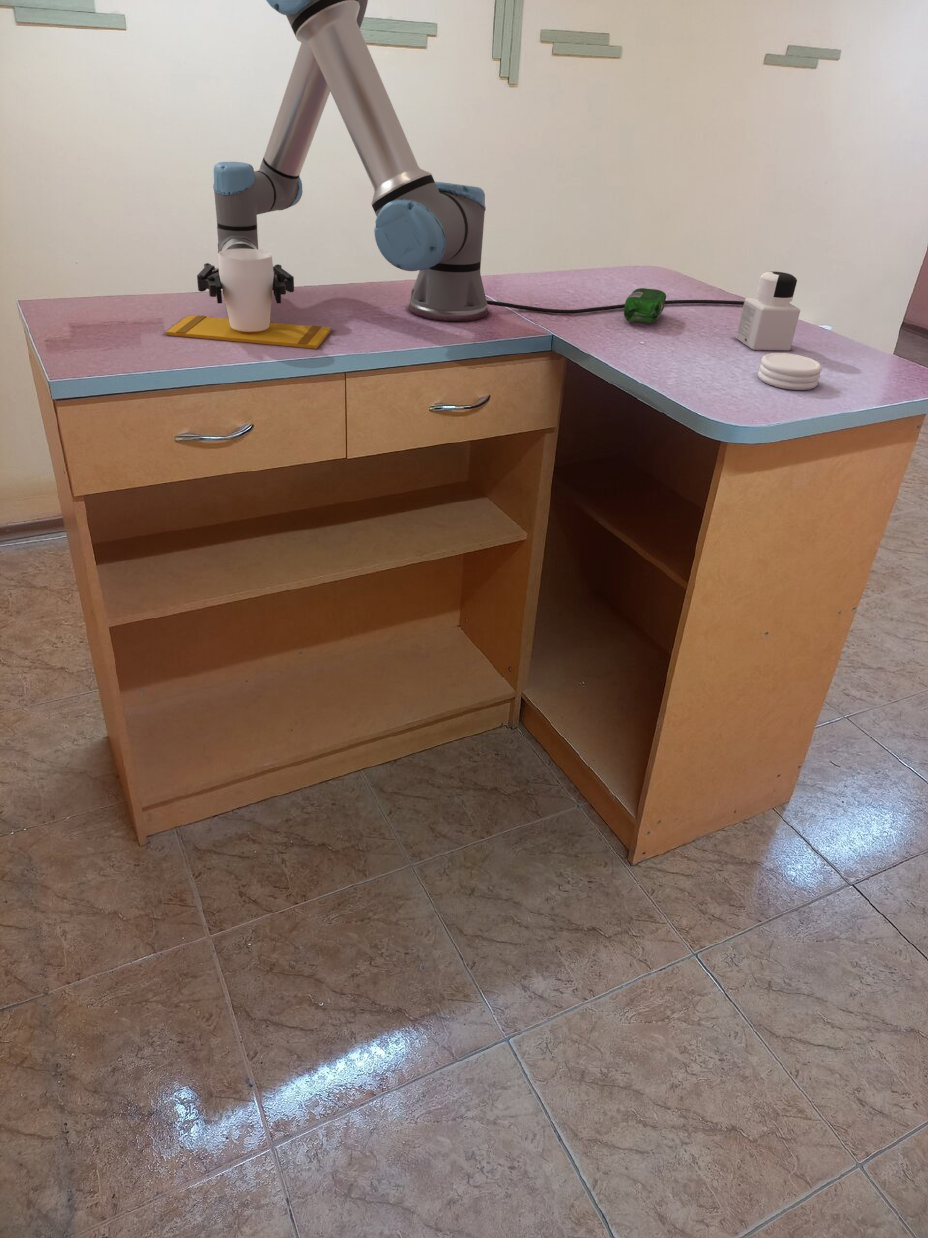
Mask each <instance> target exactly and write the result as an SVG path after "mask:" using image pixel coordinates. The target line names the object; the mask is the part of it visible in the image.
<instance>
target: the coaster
mask: <svg viewBox="0 0 928 1238" xmlns="http://www.w3.org/2000/svg"><path fill="white" fill-rule="evenodd" d="M822 371H823V366H822V364H821V363H820V362H818V361H817V360H815V359H813V358H810V357H808V356H804V355H800V354H795V353H788V352H787V353H786V352H772V353H771V352H770V353H767V354H765V355H763V356H762V358H761V360H760V364H759V370H758V372H757V377H758V378H759V380H760V381H761V382H763V383H765V384H767V385H770V386H772V387H776V388H778V389H779V388H780V389H785V390H790V391H791V390H792V391H809V390H812V389H814V388H816V387H817V386H818V384H819V379H820V378H821V372H822Z"/></svg>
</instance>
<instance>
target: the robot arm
mask: <svg viewBox="0 0 928 1238" xmlns="http://www.w3.org/2000/svg"><path fill="white" fill-rule="evenodd" d="M265 1H266V3H267V4H268V5H269V6H270V7H271V8H272V9H273V10H274V11H276V12H277V13H279V14H281V15H283V16H286V18H287V21H288V23H289V25H290V28H291V29H292V32H293V34H294V36H295V38H296V40H297V41H298V42H300V46H299V48H298V52H297V54H296V58H295V61H294V63H293V67H292V70H291V73H290V76H289V78H288V82H287V84H286V87H285V91H284V94H283V97H282V100H281V103H280V105H279V108H278V112H277V115H276V117H275V118H276V119H275V122H274V125H273V127H272V131H271V134H270V137H269V139H268V143H267V146H266V149H265V151H264V155H263V158H262V161H261V163H260V166H259V169H258V170H254V167H253V165H252V164H251V163H247V162H242V161H220V162H217V163H215V164H214V166H213V186H212V188H213V193H214V204H215V215H216V216H215V217H216V231H217V253H218V254H217V255H219V252H220V251H223V250H227V249H239V248H244V249H257V250H259V238H258V237H259V236H258V235H259V234H258V217H257V216H258V215H263V214H266V213H271V212H276V211H284V210H287V209H290V208H291V207H294V206H296V205H297V204H298V203H299V202H300V201H301V198H302V196H303V181H302V179H301V177H300V176H301V173H302V170H303V167H304V164H305V161H306V159H307V156H308V154H309V150H310V148H311V145H312V142H313V140H314V137H315V134H316V132H317V128H318V127H319V124H320V120H321V118H322V116H323V112H324V110H325V107H326V104H327V102H328V99H329V97H330V94H331V96H332V98H333V101H334V103H335V105H336V107H337V110H338V112H339V114H340V117H341V119H342V120H343V123H344V125H345V128H346V130H347V133H348V134H349V136H350V138H351V141H352V143H353V145H354V147H355V150H356V152H357V154H358V157H359V159H360V161H361V163H362V165H363V167H364V170H365V172H366V174H367V177H368V179H369V181H370V183H371V186H372V188H373V191H374V192H373V196H372V198H371V199H372V200H371V203H370V204H371V208H372V209H373V211H374V214H375V216H376V218H375V226H374V229H373V233H374V240H375V243H376V246H377V248H378V250H379V252H380V253H381V255H382V257H383V258H384V259H385V260H386V261H387V262H388V263H389V264H390V265H392V266H393V267H396V268H397V269H399V270H402V271H406V272H417V271H418V274H417V276H416V280H415V283H414V285H413V287H412V289H411V292H410V294H411V295H410V297H409V311H410V312H411V313H413V314H414V315H416V316H419V317H422V318H425V319H431V320H437V321H445V322H446V321H447V322H467V321H469V322H470V321H476V320H480V319H482V318H484V317H485V316H487V313H488V312H487V311H488V306H496V307H503V308H510V309H516V310H523V311H530V312H539V313H546V314H547V313H548V314H561V315H564V314H565V315H566V314H567V315H571V314H572V315H573V314H586V313H593V312H601V311H602V312H603V311H610V310H619V309H624V307H625V303H624V304H613V305H605V306H594V307H587V308H578V309H560V308H559V309H558V308H547V307H539V306H530V305H522V304H516V303H510V302H503V301H496V300H488V299H487V297H486V292H485V287H484V283H483V279H482V275H481V264H482V263H481V262H482V252H483V239H484V226H485V213H486V208H487V207H486V194H485V192H484V190H483V189H482V188H481V187H479V186H475V185H474V186H473V185H466V184H458V183H452V182H451V183H450V182H444V181H443V182H442V181H435V179H434V177H433V174H432V173H431V172H429V171H426V170H424V169H422V168H420V166H419V163H418V162H417V159H416V158H415V155H414V152H413V150H412V148H411V145H410V144H409V140H408V138H407V136H406V134H405V132H404V128H403V126H402V123H401V122H400V120H399V118H398V115H397V113H396V110H395V108H394V106H393V103H392V101H391V98H390V97H389V94H388V92H387V89H386V87H385V84H384V82H383V80H382V78H381V76H380V73H379V71H378V68H377V66H376V64H375V62H374V59H373V57H372V54H371V52H370V50H369V47H368V45H367V43H366V40H365V38H364V35H363V33H362V31H361V27H362V25H363V21H364V19H365V15H366V11H367V7H368V3H369V0H265ZM282 267H283V266H282V265H281V264H280V263H279V264H274V265H273V271H274V278H273V289H272V295H273V296H274V300H275V303H276V304H280V305H281V304H282V295H286V294H287V292H289V293H294V292H295V277H294V276H293V275H292V274H290V273H289V272H288V271H287V270H285V269H284V268H282ZM196 280H197V291H199V292H205V291H207V290H208V294H209V297H211V298H216V302H217V304H223V295H222V285H221V280H220V276H219V267H215V265H214V264H211V263H209V262H206V263H204V264H203V268H202V270H201V271H199V273H198V274H197V275H196ZM744 302H745V300H744V301H743V300H726V299H724V300H723V299H671V300H670V299H669V300H665V305H683V304H684V305H685V304H686V305H687V304H689V305H690V304H691V305H692V304H696V305H697V304H698V305H699V304H701V305H704V304H705V305H706V304H707V305H733V306H736V305H737V306H744Z"/></svg>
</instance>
